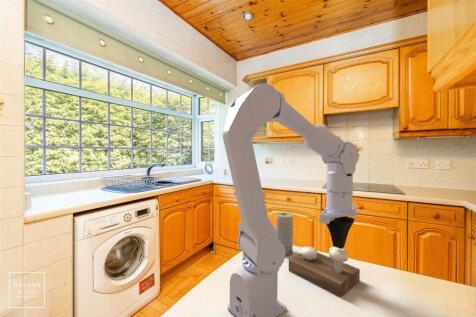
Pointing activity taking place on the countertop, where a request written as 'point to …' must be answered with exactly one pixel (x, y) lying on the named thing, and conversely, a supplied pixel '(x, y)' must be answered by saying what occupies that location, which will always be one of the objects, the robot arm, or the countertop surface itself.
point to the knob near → (338, 258)
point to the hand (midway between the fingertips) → (338, 246)
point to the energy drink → (285, 231)
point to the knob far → (309, 253)
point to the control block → (325, 273)
